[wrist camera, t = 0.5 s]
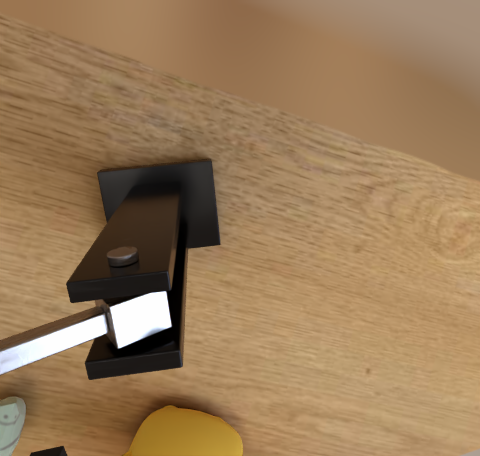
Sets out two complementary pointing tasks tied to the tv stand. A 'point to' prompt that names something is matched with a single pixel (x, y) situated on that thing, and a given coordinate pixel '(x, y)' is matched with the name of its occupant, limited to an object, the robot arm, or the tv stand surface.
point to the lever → (89, 329)
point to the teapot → (185, 435)
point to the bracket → (147, 255)
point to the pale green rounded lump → (11, 423)
